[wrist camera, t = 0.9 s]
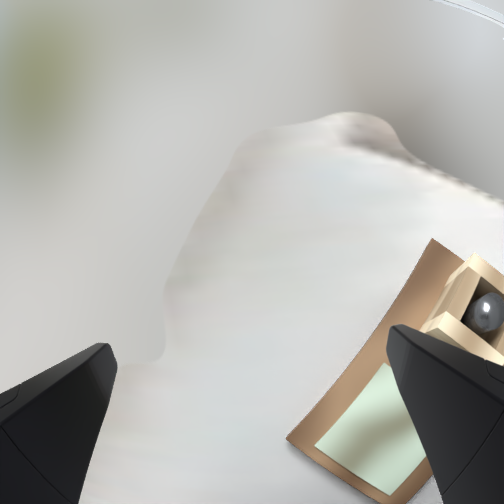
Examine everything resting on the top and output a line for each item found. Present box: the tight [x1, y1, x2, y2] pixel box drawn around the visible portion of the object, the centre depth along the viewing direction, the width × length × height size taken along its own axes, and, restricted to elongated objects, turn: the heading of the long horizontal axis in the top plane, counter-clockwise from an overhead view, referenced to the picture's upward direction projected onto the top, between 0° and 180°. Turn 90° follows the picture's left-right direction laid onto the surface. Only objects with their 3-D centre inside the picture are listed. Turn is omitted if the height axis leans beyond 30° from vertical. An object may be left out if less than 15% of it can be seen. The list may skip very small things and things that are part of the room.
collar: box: [419, 253, 504, 366], centre depth 17 cm, size 6×6×5 cm
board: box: [286, 238, 504, 504], centre depth 19 cm, size 12×20×2 cm, turn 139°
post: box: [460, 293, 504, 335], centre depth 16 cm, size 2×2×6 cm
